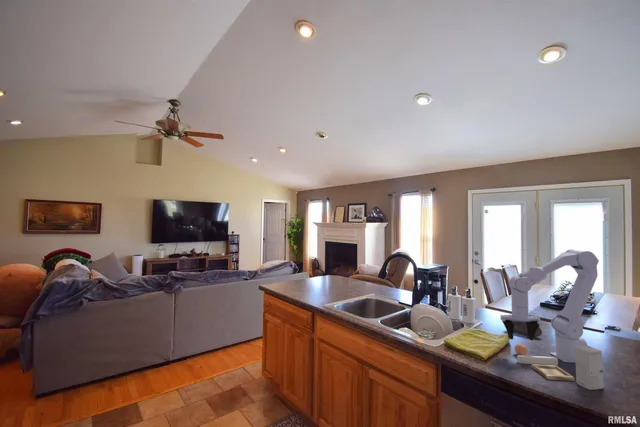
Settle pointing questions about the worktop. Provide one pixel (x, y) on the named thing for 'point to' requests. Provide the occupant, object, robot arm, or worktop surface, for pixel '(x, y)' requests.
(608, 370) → the worktop surface
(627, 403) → the worktop surface
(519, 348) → the ball
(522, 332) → the perforated stone tool
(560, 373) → the tray
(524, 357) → the bar
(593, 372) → the skincare box
